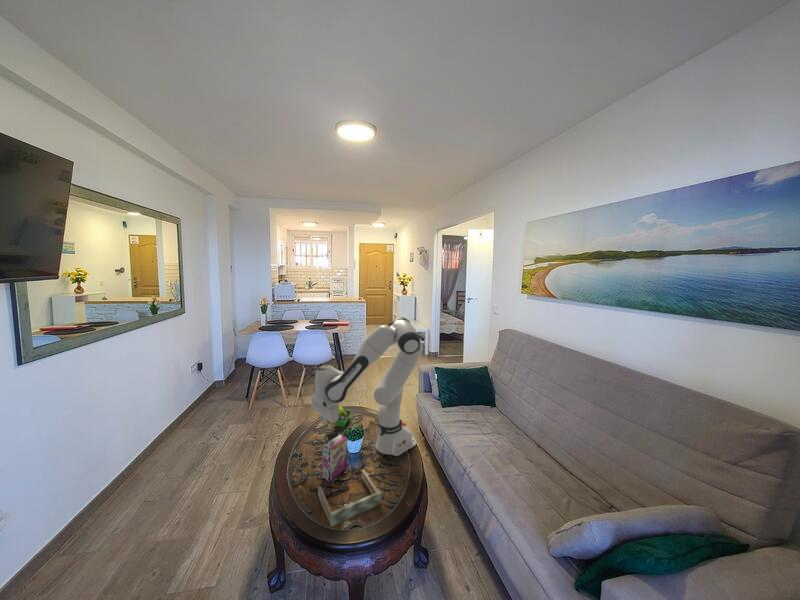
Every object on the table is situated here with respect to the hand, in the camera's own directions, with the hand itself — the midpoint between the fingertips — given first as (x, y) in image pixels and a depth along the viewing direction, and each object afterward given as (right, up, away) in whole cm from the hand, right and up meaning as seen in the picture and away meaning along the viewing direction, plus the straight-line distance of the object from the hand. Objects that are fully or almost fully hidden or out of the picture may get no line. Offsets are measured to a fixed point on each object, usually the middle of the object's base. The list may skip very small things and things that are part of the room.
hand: (324, 422), depth 150 cm
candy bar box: (+8, -20, -10) cm, 24 cm away
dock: (+17, -22, -24) cm, 37 cm away
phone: (+2, -17, +14) cm, 22 cm away
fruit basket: (+2, -14, +32) cm, 35 cm away
